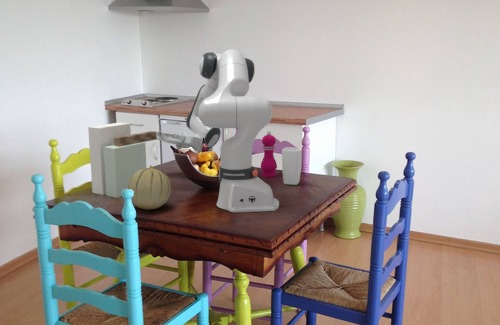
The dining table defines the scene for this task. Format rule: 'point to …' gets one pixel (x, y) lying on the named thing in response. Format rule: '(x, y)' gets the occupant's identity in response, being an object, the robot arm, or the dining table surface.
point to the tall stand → (97, 141)
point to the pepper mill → (268, 156)
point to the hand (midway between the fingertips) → (166, 134)
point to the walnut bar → (135, 138)
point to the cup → (291, 165)
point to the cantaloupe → (149, 188)
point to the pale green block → (122, 166)
